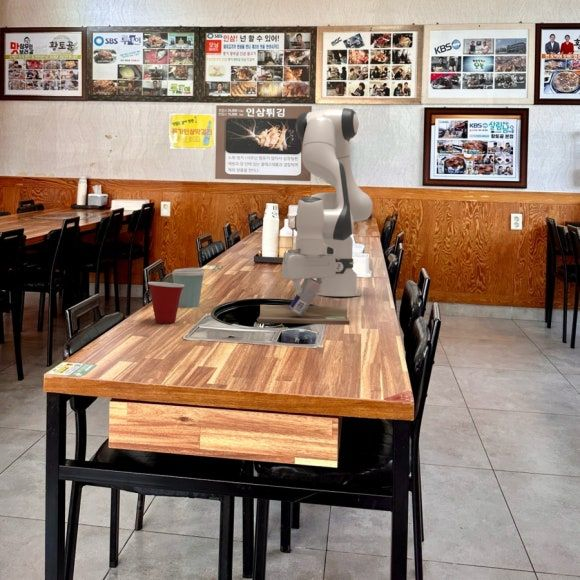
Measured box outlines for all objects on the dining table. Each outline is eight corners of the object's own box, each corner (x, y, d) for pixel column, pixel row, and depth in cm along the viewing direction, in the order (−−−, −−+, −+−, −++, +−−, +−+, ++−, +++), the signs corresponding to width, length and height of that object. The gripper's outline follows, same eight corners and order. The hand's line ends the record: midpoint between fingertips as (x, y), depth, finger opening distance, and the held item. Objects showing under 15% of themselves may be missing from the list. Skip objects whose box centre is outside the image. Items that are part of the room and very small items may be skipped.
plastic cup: (187, 324, 194) (187, 283, 193) (149, 325, 190) (149, 284, 189) (181, 319, 204) (181, 280, 203) (146, 320, 201) (146, 281, 199)
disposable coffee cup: (180, 315, 214) (180, 269, 212) (166, 311, 222) (166, 267, 221) (209, 313, 220) (209, 268, 219) (194, 309, 229) (194, 266, 227)
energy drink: (292, 309, 211) (310, 276, 210) (305, 317, 209) (323, 284, 208) (285, 308, 206) (303, 274, 205) (299, 316, 204) (317, 283, 203)
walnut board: (260, 317, 213) (260, 304, 213) (346, 319, 213) (346, 306, 212) (258, 322, 201) (258, 309, 201) (349, 324, 201) (349, 311, 200)
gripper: (290, 249, 197) (289, 295, 198) (339, 249, 210) (338, 292, 211) (277, 248, 201) (276, 293, 203) (325, 248, 215) (324, 290, 216)
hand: (308, 292), depth 207 cm, fingers closed on energy drink, 6 cm apart
